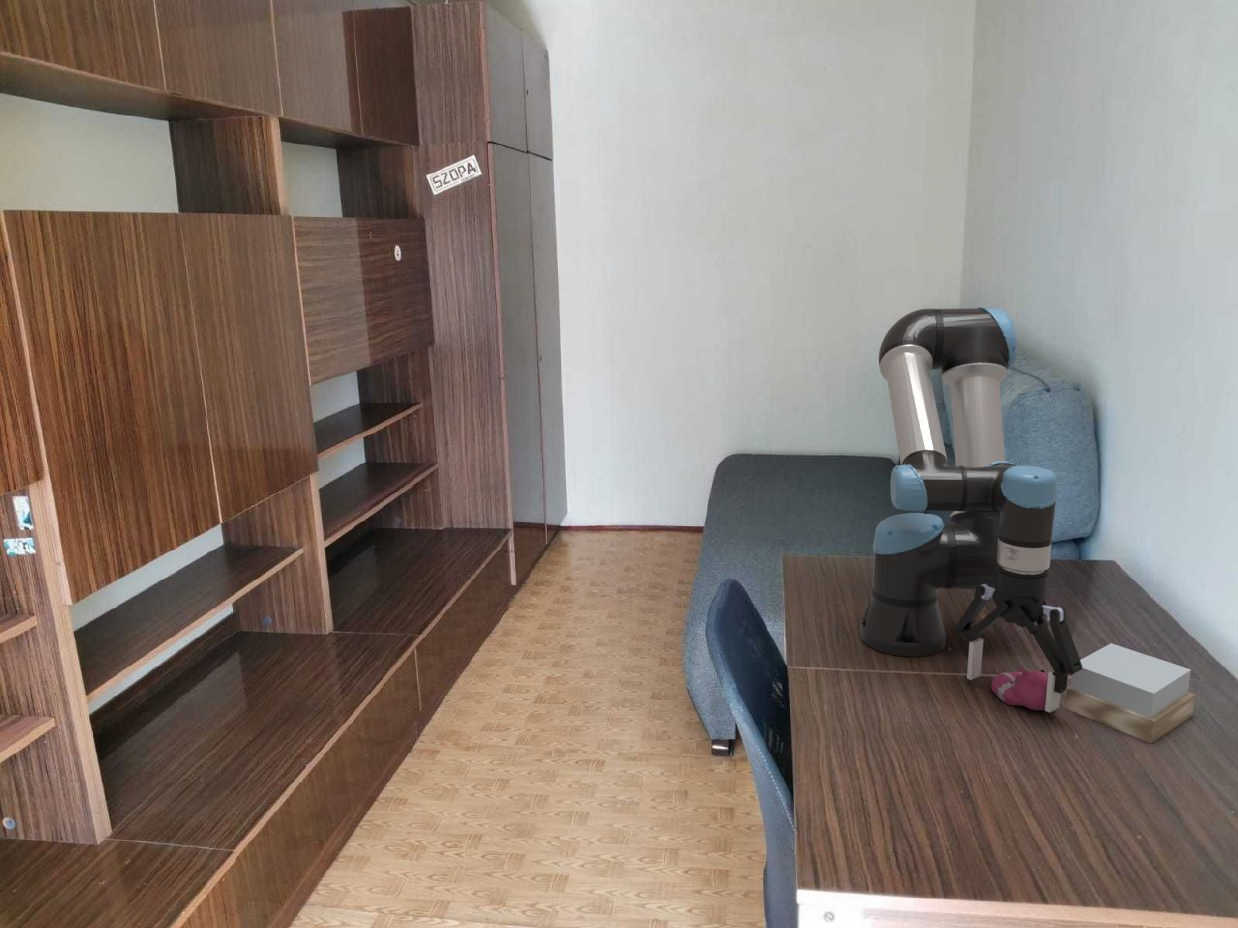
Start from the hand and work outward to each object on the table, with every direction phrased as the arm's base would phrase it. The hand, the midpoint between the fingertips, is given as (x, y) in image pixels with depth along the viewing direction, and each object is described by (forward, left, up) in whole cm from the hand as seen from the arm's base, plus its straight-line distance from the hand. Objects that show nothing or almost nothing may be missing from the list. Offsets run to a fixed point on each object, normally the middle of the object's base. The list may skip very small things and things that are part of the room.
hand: (1011, 692), depth 146 cm
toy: (+1, +3, -2) cm, 4 cm away
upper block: (+13, +11, +2) cm, 17 cm away
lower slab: (+13, +11, -2) cm, 17 cm away
